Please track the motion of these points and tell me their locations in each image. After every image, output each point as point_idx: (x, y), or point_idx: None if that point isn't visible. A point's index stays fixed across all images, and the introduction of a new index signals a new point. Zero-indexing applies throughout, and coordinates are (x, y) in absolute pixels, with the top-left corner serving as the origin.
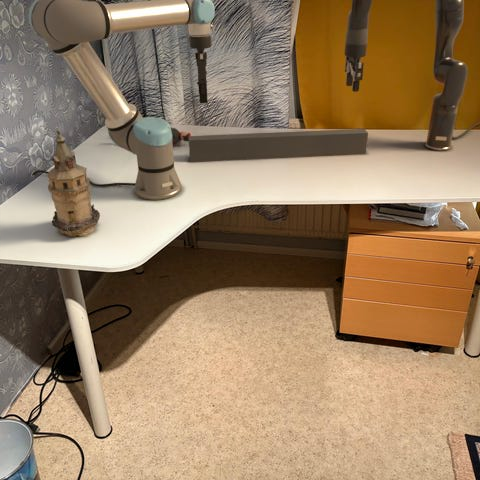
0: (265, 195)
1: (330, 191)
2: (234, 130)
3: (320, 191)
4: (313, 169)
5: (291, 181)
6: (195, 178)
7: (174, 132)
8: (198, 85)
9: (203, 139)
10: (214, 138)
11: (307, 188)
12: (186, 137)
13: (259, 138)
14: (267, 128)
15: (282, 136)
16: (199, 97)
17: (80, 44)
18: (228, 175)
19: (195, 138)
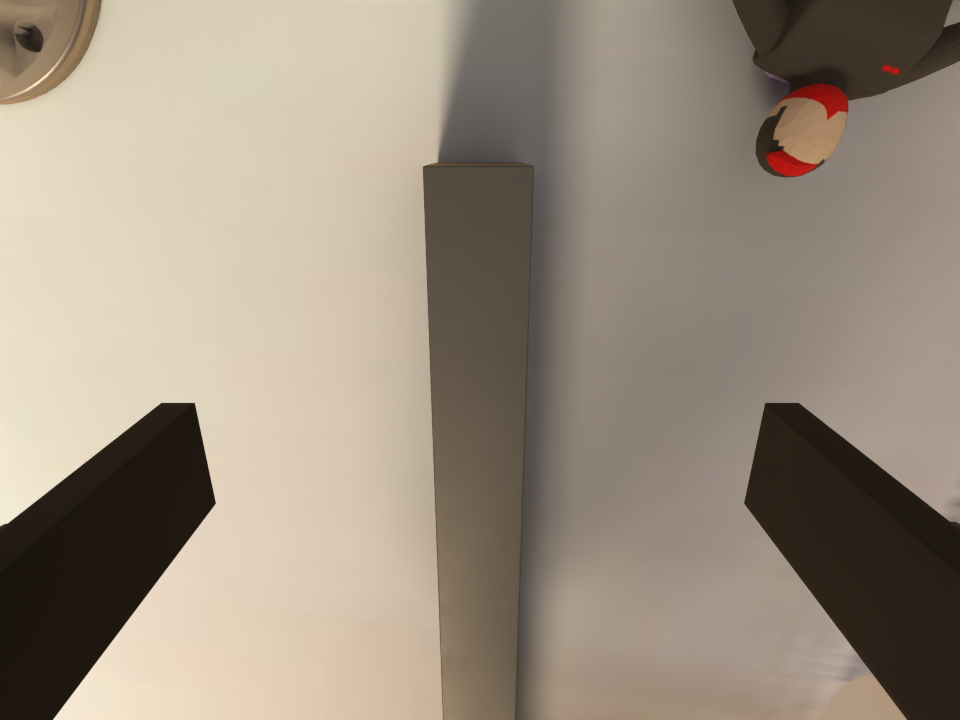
0: (12, 501)
1: (93, 702)
2: (935, 450)
3: (88, 676)
4: (307, 690)
5: (176, 606)
6: (177, 192)
7: (845, 33)
8: (848, 475)
9: (432, 285)
10: (446, 363)
11: (110, 645)
12: (764, 143)
13: (439, 606)
14: None
15: (443, 708)
16: (115, 447)
17: None
18: (230, 370)
19: (462, 223)
